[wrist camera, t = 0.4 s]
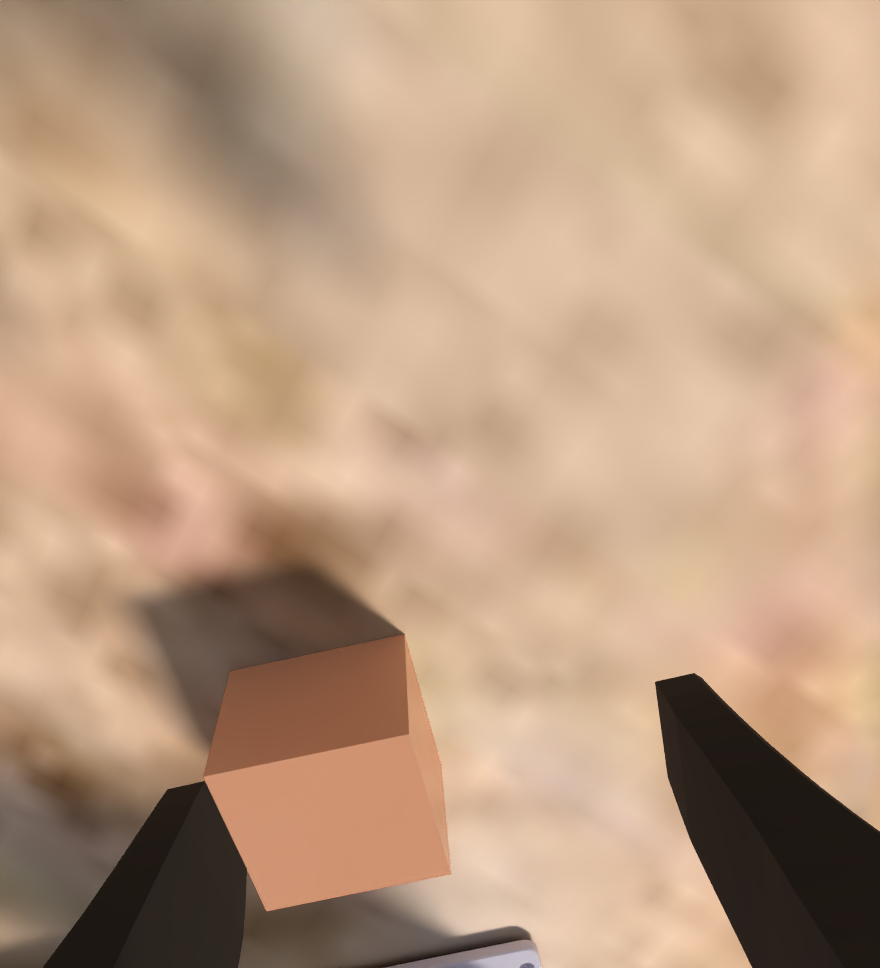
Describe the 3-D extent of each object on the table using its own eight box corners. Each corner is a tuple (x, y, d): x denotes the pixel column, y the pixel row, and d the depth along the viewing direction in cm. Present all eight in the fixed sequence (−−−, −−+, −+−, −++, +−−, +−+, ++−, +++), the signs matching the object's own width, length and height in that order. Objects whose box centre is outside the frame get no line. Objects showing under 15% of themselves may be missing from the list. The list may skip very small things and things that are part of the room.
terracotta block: (440, 760, 25) (451, 873, 22) (282, 792, 25) (266, 911, 22) (404, 631, 23) (408, 734, 19) (230, 668, 23) (203, 776, 19)
